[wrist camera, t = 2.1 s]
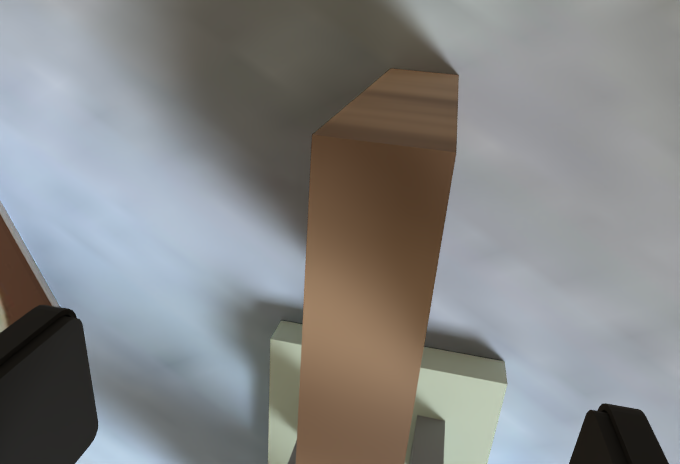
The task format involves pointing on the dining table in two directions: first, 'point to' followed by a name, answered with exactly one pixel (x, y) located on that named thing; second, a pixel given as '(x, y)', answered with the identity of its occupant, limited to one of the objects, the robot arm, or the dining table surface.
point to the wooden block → (373, 265)
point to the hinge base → (429, 408)
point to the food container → (18, 276)
